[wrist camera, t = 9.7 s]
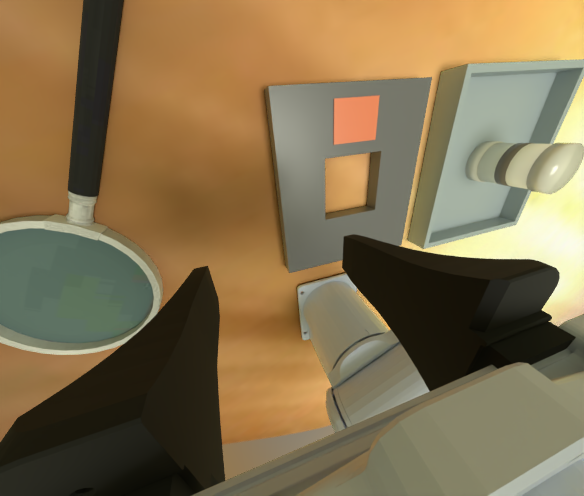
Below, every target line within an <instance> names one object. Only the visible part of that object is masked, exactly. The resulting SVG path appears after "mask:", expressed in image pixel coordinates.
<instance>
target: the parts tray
mask: <svg viewBox="0 0 584 496" xmlns="http://www.w3.org/2000/svg"><path fill="white" fill-rule="evenodd" d="M583 77H584V59H583V60H557V61H531V62H505V63H479V64H466V65H463V66H459V67H456V68H452V69H449V70H445V71H442V72H441V75H440V80H439V85H438V90H437V95H436V100H435V105H434V110H433V115H432V120H431V125H430V130H429V135H428V140H427V145H426V151H425V156H424V161H423V166H422V171H421V176H420V181H419V186H418V191H417V196H416V201H415V206H414V211H413V216H412V221H411V226H410V231H409V237H408V241H410V242H412V243H414V244H415V245H417V246H419V247H421V248H423V249H425V248H429V247H433V246H437V245H440V244H444V243H448V242H452V241H456V240H459V239H463V238H467V237H471V236H475V235H479V234H482V233H486V232H490V231H494V230H498V229H502V228H505V227H509V226H513V225H516V224H517V222H518V220H519V217H520V215H521V213H522V211H523V209H524V206H525V204H526V202H527V200H528V198H529V195H530V193H531V191H530V190H528V189H524V188H518V187H510V186H505V185H499V184H495V183H489V182H478V181H473V180H469V179H468V178H467V176H466V173H465V169H466V164H467V161H468V159H469V157H470V155H471V153H472V152H473V151H474V149H475V148H476V147H477V146H479V145H480V144H481V143H483V142H486V141H501V142H504V143H537V144H553V143H554V140H555V138H556V136H557V134H558V132H559V129H560V127H561V125H562V123H563V121H564V118H565V116H566V114H567V112H568V110H569V107H570V105H571V103H572V101H573V99H574V96H575V94H576V92H577V90H578V88H579V85H580V83H581V81H582V79H583Z"/></svg>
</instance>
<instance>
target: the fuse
mask: <svg viewBox="0 0 584 496" xmlns="http://www.w3.org/2000/svg"><path fill="white" fill-rule="evenodd" d="M583 156H584V147H583V145H582V144H580V143H555V144H537V143H504V142H501V141H486V142H483V143H481V144H480V145H479V146H477V147H476V148H475V149H474V151H473V152H472V153H471V155H470V157H469V159H468V161H467V164H466V169H465V173H466V176H467V178H468V179H469V180H473V181H478V182H489V183H495V184H499V185H505V186H510V187H518V188H524V189H528V190H530V191H534V192H540V193H545V194H552V193H555V192H557V191H558V190H560V189H561V188H562V187H564V186H565V185H566V184H567V183H568V182H569V181H570V180H571V178H572V177H573V176H574V174H575V173H576V171H577V170H578V168H579V166H580V164H581V162H582V159H583Z"/></svg>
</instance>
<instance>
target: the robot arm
mask: <svg viewBox="0 0 584 496" xmlns="http://www.w3.org/2000/svg"><path fill="white" fill-rule="evenodd" d="M342 268H343V269H344V271H345V272H346V273H344V274H340V275H336V276H333V277H329V278H325V279H321V280H317V281H314V282H310V283H306V284H302V285H299V286H298V288H297V293H298V304H299V314H300V325H301V335H302V339H303V340H308V339H310V340H311V342H312V344H313V347H314V349H315V351H316V353H317V355H318V358H319V360H320V362H321V364H322V367H323V369H324V371H325V373H326V375H327V377H328V379H329V381H330V383H331V385H332V387H330V388H329V389H328V390H327V393H326V408H327V413H328V416H329V419H330V422H331V424H332V427H333V429H334V432H335V433H334V434H332V435H329V436H327V437H324V438H322V439H320V440H318V441H316V442H313V443H311V444H308V445H306V446H304V447H302V448H299V449H297V450H295V451H292V452H290V453H288V454H286V455H283V456H281V457H279V458H277V459H274V460H272V461H269V462H267V463H265V464H263V465H260V466H258V467H256V468H253V469H251V470H249V471H247V472H244V473H242V474H240V475H237V476H235V477H233V478H230V479H228V480H226V481H225V474H224V463H223V453H222V439H221V426H220V411H219V395H218V375H217V357H218V339H219V321H220V314H219V302H218V296H217V293H216V290H215V287H214V284H213V281H212V278H211V275H210V271H209V268H208V266H205V267H200V268H196V269H194V270H193V271H192V272H191V274H190V275H189V276H188V278H187V279H186V280H185V282H184V283H183V284H182V285H181V287H180V288H179V289H178V290H177V292H176V293H175V294H174V295H173V297H172V298H171V299H170V300H169V301H168V302H167V303H166V305H165V306H164V307H163V308H162V309H161V310H160V311H159V312H158V313H157V314H156V315H155V316H154V317H153V318H152V319H151V320H150V321H149V322H148V323H147V324H146V325H145V326H144V327H143V328H142V329H141V330H140V331H139V332H138V333H136V334H135V335H134V336H133V337H132V338H130V339H129V340H128V341H127V342H126V343H124V344H123V345H122V346H121V347H120V348H118V349H117V350H116V351H115V352H114V353H112V354H111V355H110V356H108V357H107V358H106V359H104V360H103V361H102V362H100V363H99V364H98V365H96V366H95V367H94V368H92V369H91V370H90V371H88V372H87V373H85V374H84V375H83V376H81V377H80V378H78V379H77V380H75V381H74V382H72V383H71V384H70V385H68V386H67V387H65V388H63V389H62V390H60V391H59V392H57V393H56V394H54V395H53V396H51V397H50V398H48V399H47V400H45V401H43V402H42V403H40V404H39V405H37V406H36V407H34V408H33V409H31V410H30V411H28V412H26V413H25V414H23V415H22V416H20V417H18V418H17V420H16V421H15V422H14V424H13V425H12V427H11V428H10V429H9V431H8V432H7V434H6V435H5V437H4V438H3V439H2V441H1V442H0V496H584V462H583V461H584V314H582V315H580V316H578V317H575V318H573V319H571V320H568V321H566V322H564V323H563V324H561V325H560V326H559V327H557V326H556V325H554V324H552V323H550V322H548V321H550V320H551V319H552V317H551V315H549V314H547V313H546V312H544V311H542V310H541V309H542V308H543V306H544V305H545V303H546V302H547V300H548V299H549V297H550V296H551V294H552V293H553V291H554V289H555V288H556V286H557V284H558V281H559V272H558V270H557V269H556V268H554V267H552V266H550V265H547V264H545V263H542V262H539V261H535V260H530V259H480V258H466V257H456V256H447V255H440V254H433V253H428V252H422V251H417V250H412V249H408V248H404V247H400V246H396V245H393V244H389V243H386V242H382V241H379V240H375V239H372V238H368V237H365V236H361V235H356V234H352V235H348V236H344V240H343V263H342ZM357 288H358V290H359V291H360V292H361V293H362V294H363V295H364V296H365V297H366V299H367V300H368V301H369V302H370V303H371V304H372V305H373V306H374V307H375V309H376V310H377V311H378V312H379V313H380V315H381V316H382V317H383V319H384V320H385V321H386V323H387V324H388V326H389V327H390V328H391V330H390V331H389V330H388V328H387V327H386V326H385V325H384V324H383V323H382V322H381V320H380V319H379V318H378V317H377V316H376V315H375V314H374V312H373V311H372V310H371V309H370V308H369V307H368V306H367V304H366V303H365V302H364V301H363V300H362V299H361V298H360V296H359V295H358V294H357ZM302 291H303V292H302ZM301 292H302V293H301Z"/></svg>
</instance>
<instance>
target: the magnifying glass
mask: <svg viewBox="0 0 584 496" xmlns="http://www.w3.org/2000/svg"><path fill="white" fill-rule="evenodd" d="M123 1H124V0H83V12H82V24H81V36H80V48H79V60H78V72H77V85H76V97H75V109H74V121H73V133H72V145H71V157H70V169H69V181H68V193H69V195H68V198H69V199H70V202H69V213H68V214H67V215H66V216H63V215H57V214H55V215H53V216H45V215H36V216H27V217H19V218H13V219H10V220H7V221H3V222H0V342H1V343H3V344H6V345H9V346H13V347H16V348H19V349H22V350H28V351H33V352H38V353H45V354H58V355H75V354H87V353H94V352H99V351H103V350H107V349H111V348H114V347H117V346H119V345H122V344H124V343H126V342H127V341H128V340H129V339H130V338H132V337H133V336H134V335H135V334H136V333H138V332H139V331H140V330H141V329H142V328H143V327H144V326H145V325H146V324H147V323H148V322H149V321H150V320H151V319H152V318H153V317H154V316H155V315H156V314H157V312H158V310H159V307H160V304H161V301H162V296H163V284H162V278H161V276H160V273H159V271H158V269H157V267H156V265H155V264H154V262H153V261H152V260H151V258H150V257H149V255H147V254H146V253H145V252H144V251H143V250H142V249H141V248H140V247H139V246H138V245H137V244H135V243H134V242H132V241H131V240H129V239H128V238H126V237H125V236H123V235H122V234H119V233H117V232H115V231H113V230H111V229H109V228H108V226H104V225H101V224H98V223H95V222H94V219H95V218H94V217H93V213H94V205H95V203H96V202H97V200H96V199H97V196H98V193H99V185H100V177H101V170H102V162H103V154H104V147H105V139H106V131H107V124H108V116H109V108H110V101H111V93H112V85H113V78H114V70H115V62H116V55H117V47H118V39H119V32H120V24H121V16H122V9H123Z"/></svg>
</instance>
